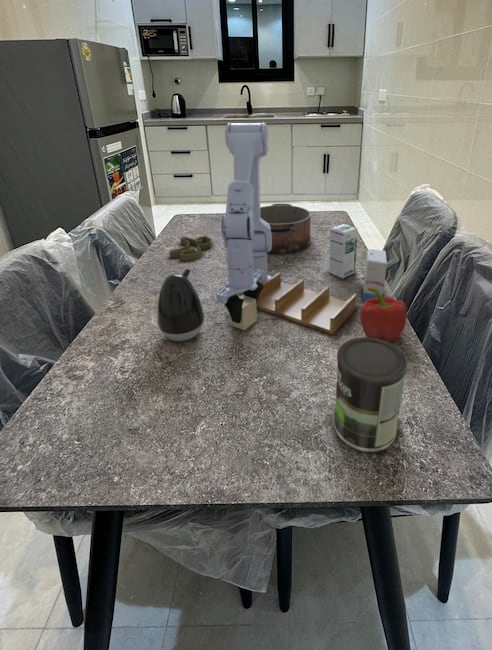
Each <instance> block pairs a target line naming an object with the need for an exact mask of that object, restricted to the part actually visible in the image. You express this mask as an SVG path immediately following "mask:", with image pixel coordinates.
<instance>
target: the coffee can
mask: <svg viewBox="0 0 492 650" xmlns="http://www.w3.org/2000/svg"><path fill="white" fill-rule="evenodd" d="M336 359H337V360H336V361H337V368H336V387H335V405H334V417H333V427H334V430H335V432H336V434H337V436H338V437H339V439H341V441H342V442H343V443H345V444H346V445H347V446H349V447H351V448H353V449H355V450H358V451H361V452H367V453H375V452H380V451H383V450H385V449H387V448H388V447H390V446H391V445H392V444H393V443H394V442H395V440H396V437H397V432H398V431H397V430H398V424H399V423H398V421H399V415H400V409H401V402H402V395H403V389H404V382H405V376H406V372H407V369H408V360H407V357H406V354H405V353H404V352H403V351H402V350H401V349H400V348H398V347H397V346H396V345H394V344H393V343H391V342H387V341H384V340H381V339H377V338H370V337H368V336H363V337H355V338H351V339H349V340H347V341H345V342H344V343H342V344H341V345H340V346H339V348H338V350H337V353H336Z"/></svg>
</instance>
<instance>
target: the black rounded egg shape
mask: <svg viewBox="0 0 492 650" xmlns="http://www.w3.org/2000/svg"><path fill="white" fill-rule="evenodd" d="M190 273H191V270H190V269H189V268H186V269H185V270H184V271H183V273H182V274H180V273H173V274H170V275H169V276H167V277H166V278H165V279H164V280H163V283H162V284H161V287H160V291H159V295H158V301H157V308H156V310H157V311H156V321H157V326H158V329H159V330H160V331H161V332H162V334H163V335H164V337H166V338H167V339H169V340H171V341H174V342H185V341H189V340H191V339H193V338H194V337H196V336H198V334H199V333H200V331H201V330H202V327H203V324H204V321H205V312H204V309H203V305H202V302H201V299H200V297H199V295H198V292H197V290H196V288H195V287H194V286H193V283H192V282H191V281H190V279H189V278H188V277H189V275H190Z"/></svg>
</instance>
